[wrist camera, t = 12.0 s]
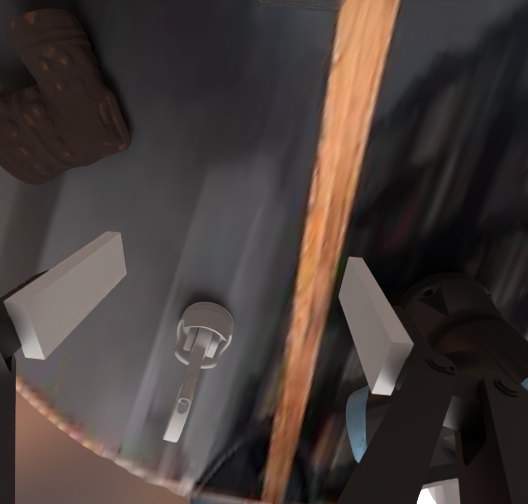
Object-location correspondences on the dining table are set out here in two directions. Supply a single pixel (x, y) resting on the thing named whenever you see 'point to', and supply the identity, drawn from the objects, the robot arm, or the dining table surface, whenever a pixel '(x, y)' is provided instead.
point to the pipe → (57, 101)
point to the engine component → (197, 354)
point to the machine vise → (305, 4)
